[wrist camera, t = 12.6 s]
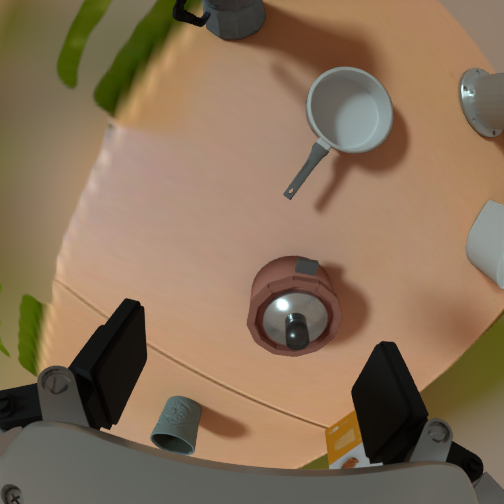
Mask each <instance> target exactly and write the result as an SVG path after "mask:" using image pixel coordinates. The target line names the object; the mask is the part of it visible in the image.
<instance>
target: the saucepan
mask: <svg viewBox="0 0 504 504" xmlns="http://www.w3.org/2000/svg"><path fill="white" fill-rule="evenodd" d="M305 109H306V117H307V121H308V124H309V126H310V128H311V129H312V131H313V132H314V133H315V135H316V136H317V137H318V138H319V139H318V140H317V142H315V144H314V145H313V146H312V151H311V153H310V155H309V157H308V159H307V161H306V163H305V164H304V166H303V167H302V168H301V170H300V171H299V173H298V174H297V175H296V177H295V178H294V180H293V181H292V182H291V184H290V185H289V187H288V188H287V190H286V191H285V192H284V194H283V195H284V196H285V197H287V198H288V199H290V200H291V199H292V197H293V196H294V195H295V193H296V192H297V191H298V189H299V188H300V187H301V185H302V184H303V182H304V181H305V180H306V178H307V177H308V176H309V174H310V173H311V172H312V170H313V169H314V168H315V166H316V165H317V164H318V163H319V162H320V160H321V159H322V158H323V157H325V156H326V155H327V154H328V153H329V150H330V148H331V147H333V148H335V149H337V150H340V151H342V152H346V153H351V154H360V153H365V152H369V151H371V150H373V149H375V148H377V147H378V146H380V145H381V144H382V143H383V142H384V141H385V140H386V139H387V137H388V135H389V133H390V132H391V129H392V126H393V120H394V110H393V105H392V101H391V98H390V96H389V94H388V92H387V90H386V89H385V87H384V86H383V85H382V84H381V83H380V82H379V81H378V80H377V79H376V78H375V77H374V76H372V75H371V74H369V73H368V72H366V71H363V70H361V69H358V68H354V67H337V68H333V69H330V70H328V71H326V72H324V73H323V74H321V75H320V76H319V77H318V78H317V79H316V80H315V81H314V83H313V85H312V86H311V88H310V91H309V94H308V98H307V101H306V108H305ZM292 188H293V192H292V193H290V194H289V190H290V189H292Z"/></svg>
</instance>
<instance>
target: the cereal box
mask: <svg viewBox="0 0 504 504" xmlns="http://www.w3.org/2000/svg"><path fill="white" fill-rule="evenodd" d="M325 435H326V443H327V451H328V459H329V468H330V469H346V468H359V467H370V466H380V465H383V464H382V463H376V464H370V462H369V458H367V457H366V456H365V451H364V447H363V442H362V437H361V433H360V428H359V424H358V420H357V415H356V411H355V410H354V411H353V412H351V413H350V414H348V415H347V416H346V417H344V418H343V419H341V420H340V421H338V422H337V423H336V424H334V425H333V426H331V427H330V428H328V429H327V430H325Z"/></svg>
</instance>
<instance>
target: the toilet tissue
mask: <svg viewBox="0 0 504 504" xmlns="http://www.w3.org/2000/svg"><path fill="white" fill-rule="evenodd" d="M466 251H467V256H468V259H469V261H470V262H471V263H472V264H473V265H474V266H475V267H476V268H478V269H479V270H480V271H481V272H482V273H484V274H485V275H486V276H487V277H488V278H490V279H491V280H492V281H493V282H494V283H496V284H497V285H498V286H499V287H500V288H502V289H503V290H504V205H502V204H499V203H496V202H494V201H492V200H489V201H488V203H487V204H486V205H485V206H484V208H483V210H482V211H481V213H480V215H479V216H478V218H477V220H476V222H475V223H474V225H473V227H472V228H471V230H470V233H469V236H468V239H467V245H466Z"/></svg>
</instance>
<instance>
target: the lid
mask: <svg viewBox="0 0 504 504" xmlns="http://www.w3.org/2000/svg"><path fill="white" fill-rule="evenodd" d="M327 320H328V316H327V311H326V308H325V305H324V303H323V301H322V300H321V299H320V298H319V297H318V296H317V295H315V294H314V293H312V292H309V291H306V290H300V289H294V290H288V291H285V292H282V293H280V294H278V295H276V296H275V297H273V298H272V299H271V300H270V301H269V303H268V304H267V306H266V308H265V310H264V315H263V325H264V329H265V331H266V333H267V334H268V336H269V337H270V338H271V339H273V340H274V341H276V342H278V343H280V344H283V345H287V347H288V348H290V349H291V350H296V351H298V350H302V349H304V348H306V347H307V346H308V345H309V342H311V341H313V340H315V339H316V338H318V337H319V336H320V335H321V334H322V332H323V331H324V329H325V327H326V325H327Z"/></svg>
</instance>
